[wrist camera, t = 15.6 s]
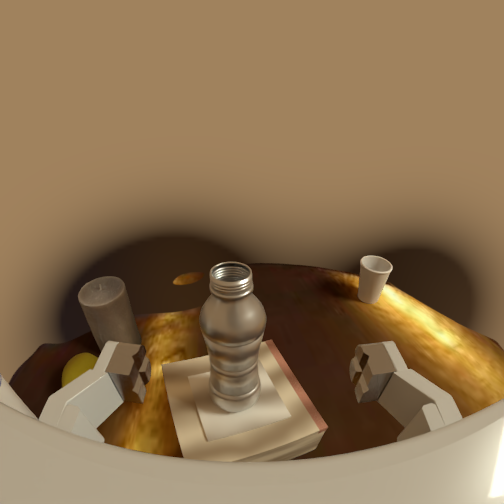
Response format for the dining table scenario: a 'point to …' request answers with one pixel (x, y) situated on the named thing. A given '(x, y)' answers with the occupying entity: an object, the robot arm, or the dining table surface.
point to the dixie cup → (372, 278)
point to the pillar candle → (109, 311)
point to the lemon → (78, 367)
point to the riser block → (243, 414)
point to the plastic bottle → (233, 336)
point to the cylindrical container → (12, 398)
